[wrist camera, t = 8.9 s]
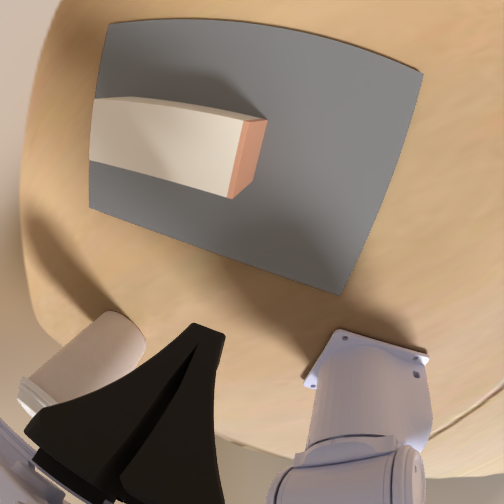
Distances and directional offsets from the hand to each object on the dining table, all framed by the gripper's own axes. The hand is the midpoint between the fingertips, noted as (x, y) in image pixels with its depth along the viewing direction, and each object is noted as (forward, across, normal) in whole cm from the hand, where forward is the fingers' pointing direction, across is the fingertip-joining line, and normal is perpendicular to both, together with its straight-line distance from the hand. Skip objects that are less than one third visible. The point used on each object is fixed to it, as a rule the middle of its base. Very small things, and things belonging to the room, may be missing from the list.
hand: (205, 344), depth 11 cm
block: (+8, +2, -6) cm, 10 cm away
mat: (+11, +4, -6) cm, 13 cm away
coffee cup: (+11, +12, +18) cm, 24 cm away
